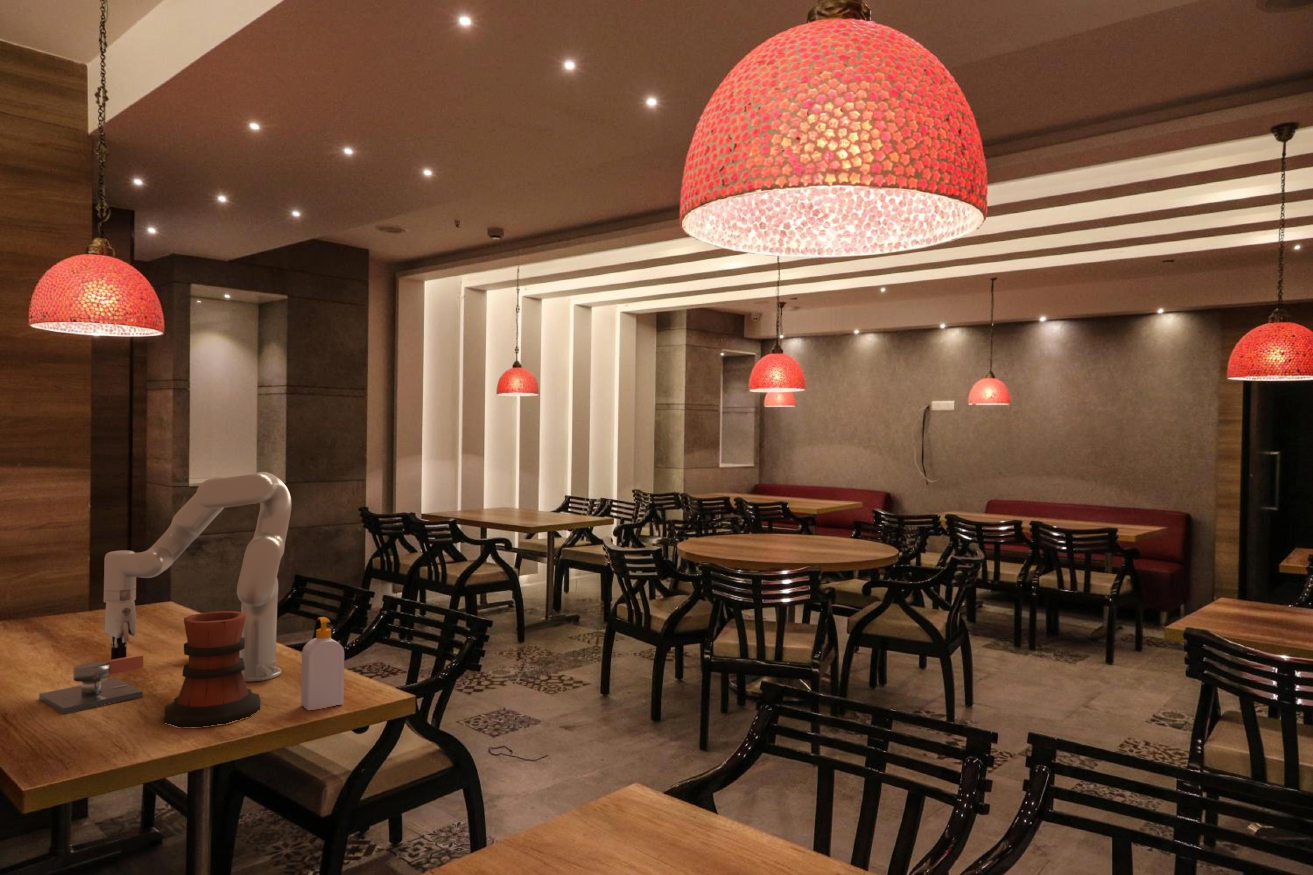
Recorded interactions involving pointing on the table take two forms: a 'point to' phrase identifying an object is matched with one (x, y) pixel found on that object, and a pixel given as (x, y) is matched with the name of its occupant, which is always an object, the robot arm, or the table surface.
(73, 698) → the post base
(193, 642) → the red-brown flared vessel
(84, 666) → the red lever handle
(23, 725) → the table surface
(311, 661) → the soap bottle
